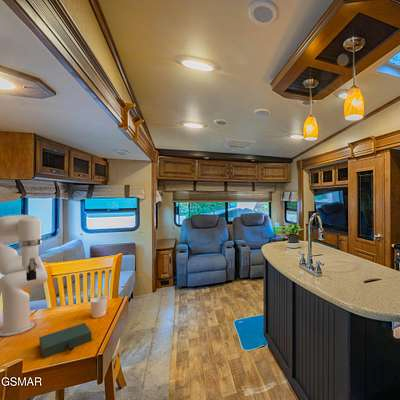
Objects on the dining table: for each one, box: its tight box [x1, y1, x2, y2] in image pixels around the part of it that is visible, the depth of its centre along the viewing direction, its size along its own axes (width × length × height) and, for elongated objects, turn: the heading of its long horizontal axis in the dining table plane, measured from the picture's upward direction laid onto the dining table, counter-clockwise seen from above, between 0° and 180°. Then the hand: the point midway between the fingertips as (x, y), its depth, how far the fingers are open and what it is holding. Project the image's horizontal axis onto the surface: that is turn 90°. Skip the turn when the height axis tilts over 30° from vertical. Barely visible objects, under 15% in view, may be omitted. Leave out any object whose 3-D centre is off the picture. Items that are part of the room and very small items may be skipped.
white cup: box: [90, 295, 108, 319], centre depth 149 cm, size 8×8×10 cm
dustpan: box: [38, 322, 92, 359], centre depth 121 cm, size 5×17×18 cm
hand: (31, 279), depth 121 cm, fingers closed
